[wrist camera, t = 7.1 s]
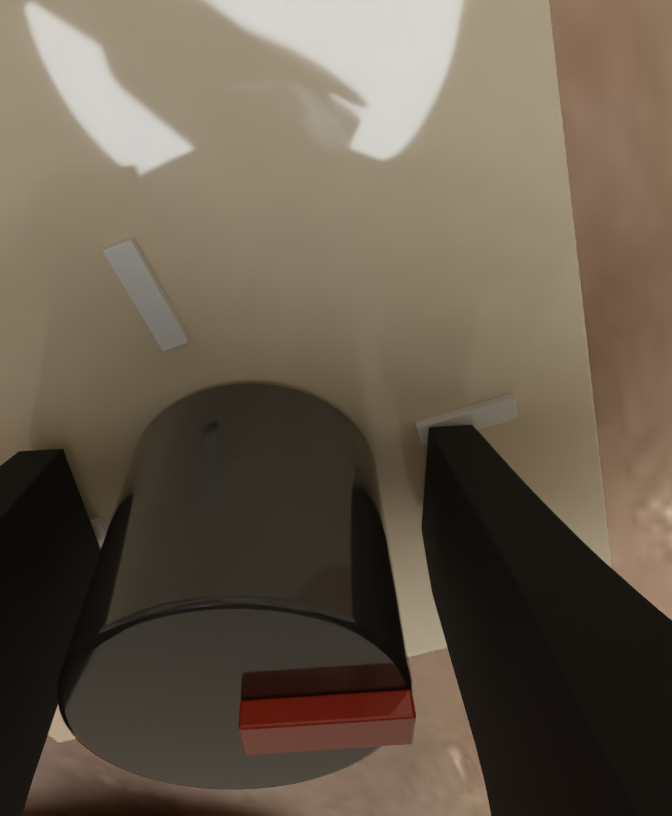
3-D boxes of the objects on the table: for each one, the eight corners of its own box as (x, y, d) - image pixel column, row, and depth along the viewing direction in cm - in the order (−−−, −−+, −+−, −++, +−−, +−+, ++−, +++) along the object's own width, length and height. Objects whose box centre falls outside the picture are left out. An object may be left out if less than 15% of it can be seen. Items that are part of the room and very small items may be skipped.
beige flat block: (-553, 11, 7) (-900, 29, 5) (405, -496, 6) (474, -781, 3) (89, 641, 15) (55, 752, 13) (569, 512, 14) (621, 615, 11)
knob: (157, 568, 10) (96, 831, 7) (104, 386, 8) (-15, 649, 5) (374, 556, 10) (409, 808, 7) (379, 373, 8) (432, 621, 5)
